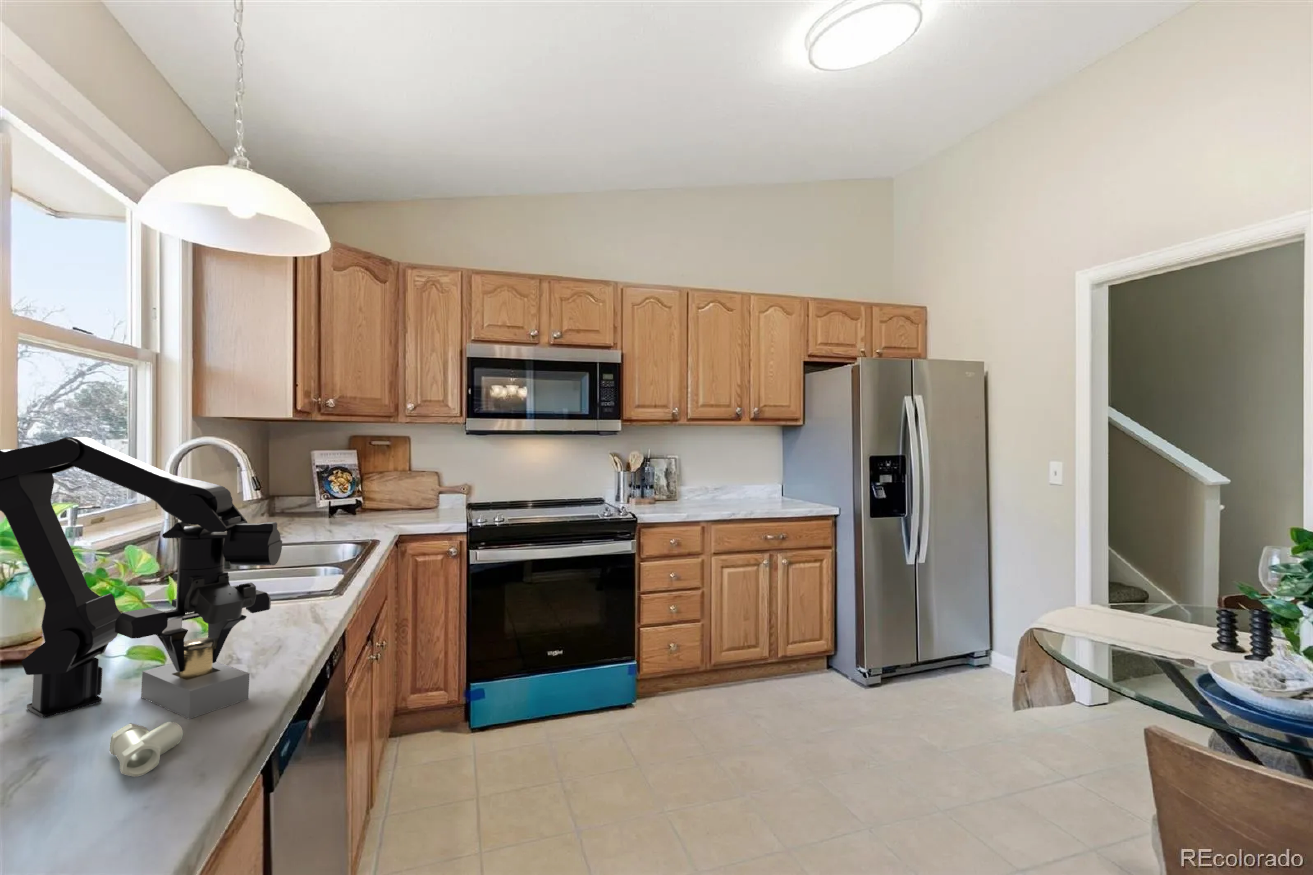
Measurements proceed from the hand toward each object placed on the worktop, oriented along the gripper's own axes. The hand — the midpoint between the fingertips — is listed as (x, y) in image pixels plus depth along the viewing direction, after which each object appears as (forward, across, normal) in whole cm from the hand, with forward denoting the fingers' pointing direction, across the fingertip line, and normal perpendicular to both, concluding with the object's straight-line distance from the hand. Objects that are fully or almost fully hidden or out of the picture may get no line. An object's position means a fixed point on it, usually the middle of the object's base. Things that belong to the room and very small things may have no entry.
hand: (196, 666), depth 92 cm
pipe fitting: (+5, -12, -15) cm, 20 cm away
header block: (+5, 0, 0) cm, 5 cm away
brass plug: (+5, 0, 0) cm, 5 cm away
